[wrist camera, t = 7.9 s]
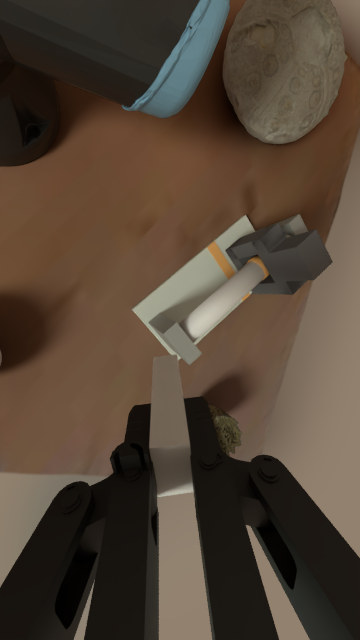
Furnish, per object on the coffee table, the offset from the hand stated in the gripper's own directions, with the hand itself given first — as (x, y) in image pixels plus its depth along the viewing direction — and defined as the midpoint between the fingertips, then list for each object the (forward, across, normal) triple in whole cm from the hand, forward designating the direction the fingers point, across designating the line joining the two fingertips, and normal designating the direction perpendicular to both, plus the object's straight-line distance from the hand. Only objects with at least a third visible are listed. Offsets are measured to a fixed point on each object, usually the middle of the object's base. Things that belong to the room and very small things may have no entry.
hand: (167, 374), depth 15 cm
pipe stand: (+25, +8, -1) cm, 26 cm away
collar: (+21, +13, +3) cm, 25 cm away
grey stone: (+34, +19, +28) cm, 48 cm away
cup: (+19, +4, -22) cm, 30 cm away
